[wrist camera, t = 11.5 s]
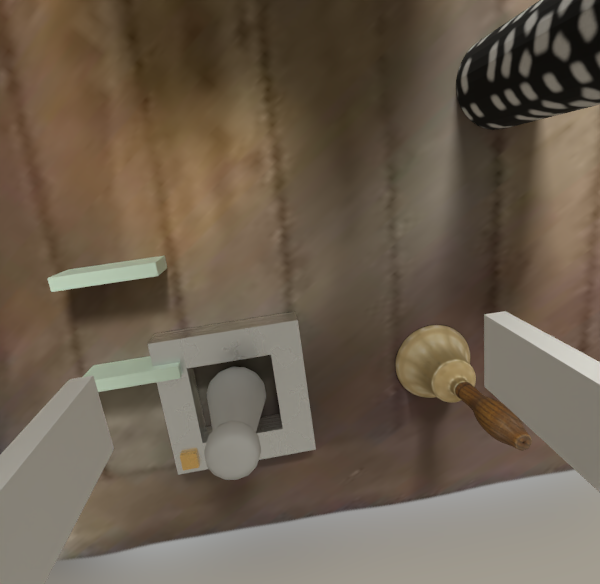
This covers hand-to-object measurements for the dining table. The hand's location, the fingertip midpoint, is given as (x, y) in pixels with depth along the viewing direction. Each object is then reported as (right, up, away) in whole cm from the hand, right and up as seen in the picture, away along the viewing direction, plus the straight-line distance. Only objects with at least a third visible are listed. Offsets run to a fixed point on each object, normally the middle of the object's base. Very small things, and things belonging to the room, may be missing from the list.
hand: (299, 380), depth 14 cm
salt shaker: (-6, -7, +30) cm, 32 cm away
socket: (-6, -7, +30) cm, 31 cm away
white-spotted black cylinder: (+19, +23, +26) cm, 39 cm away
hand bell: (+14, -4, +32) cm, 35 cm away
